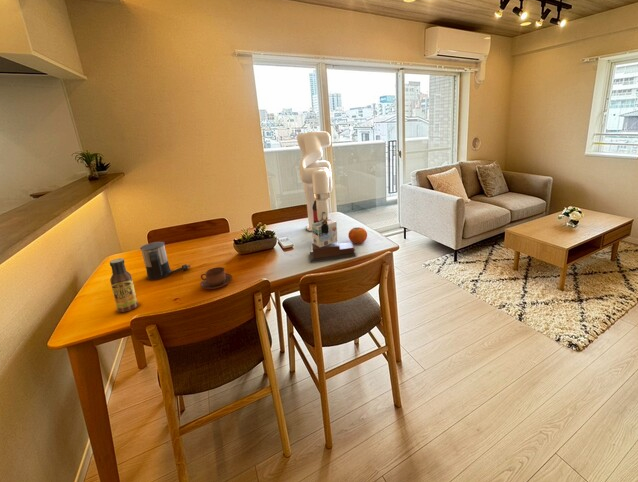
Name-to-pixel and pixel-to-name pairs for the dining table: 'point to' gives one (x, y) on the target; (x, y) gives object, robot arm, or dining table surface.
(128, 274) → the sauce bottle
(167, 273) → the milk frother
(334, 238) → the light bulb box
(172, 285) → the dining table surface
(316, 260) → the brown stepped slab
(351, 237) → the fruit
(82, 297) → the dining table surface
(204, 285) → the cup and saucer
